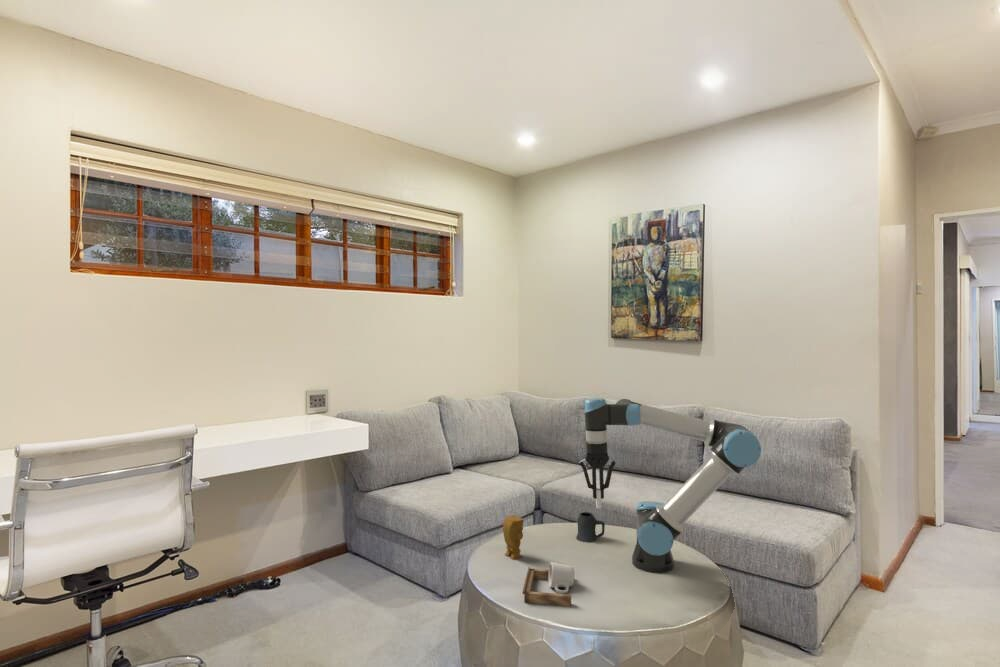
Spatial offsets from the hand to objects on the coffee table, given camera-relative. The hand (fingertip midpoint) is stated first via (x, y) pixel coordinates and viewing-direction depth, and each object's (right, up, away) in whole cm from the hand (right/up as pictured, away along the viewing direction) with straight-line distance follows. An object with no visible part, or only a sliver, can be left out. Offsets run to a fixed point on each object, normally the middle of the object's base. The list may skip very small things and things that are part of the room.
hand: (598, 507), depth 195 cm
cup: (-10, -22, -8) cm, 26 cm away
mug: (+2, -25, +34) cm, 42 cm away
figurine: (-30, -25, +18) cm, 43 cm away
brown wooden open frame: (-19, -25, -10) cm, 33 cm away
